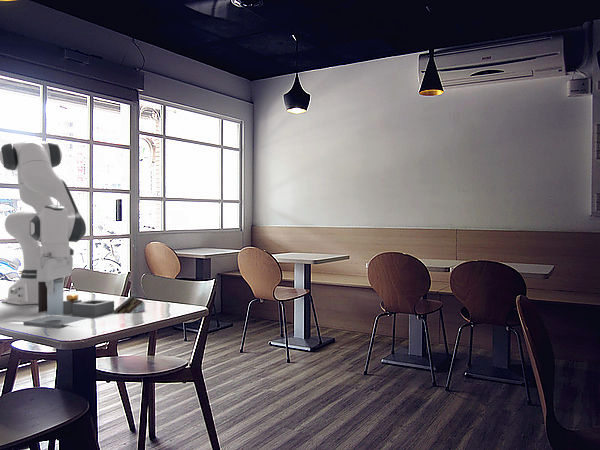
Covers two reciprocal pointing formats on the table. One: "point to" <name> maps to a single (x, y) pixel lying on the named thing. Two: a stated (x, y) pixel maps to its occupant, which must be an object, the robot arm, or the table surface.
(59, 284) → the block
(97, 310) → the block
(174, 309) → the table surface
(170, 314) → the table surface
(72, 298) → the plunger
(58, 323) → the mat
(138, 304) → the chocolate cake
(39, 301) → the bottle
